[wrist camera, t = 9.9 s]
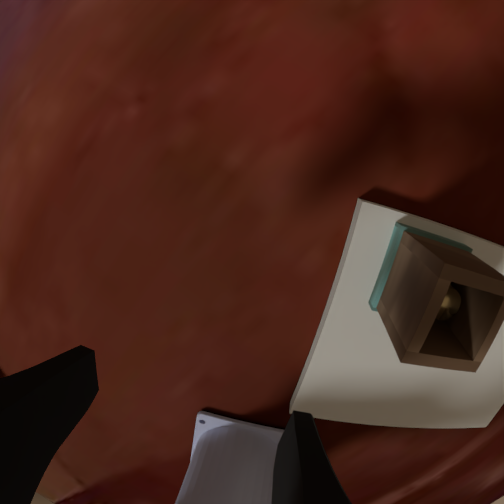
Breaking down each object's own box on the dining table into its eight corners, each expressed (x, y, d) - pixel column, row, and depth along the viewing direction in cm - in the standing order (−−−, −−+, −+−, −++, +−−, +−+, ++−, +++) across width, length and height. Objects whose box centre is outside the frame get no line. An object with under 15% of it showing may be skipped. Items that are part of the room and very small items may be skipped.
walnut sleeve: (435, 317, 17) (476, 376, 11) (368, 302, 17) (394, 366, 11) (464, 244, 15) (522, 283, 10) (395, 221, 15) (442, 256, 10)
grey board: (481, 418, 20) (485, 427, 19) (289, 402, 21) (289, 413, 20) (560, 270, 15) (569, 276, 14) (358, 198, 17) (362, 201, 15)
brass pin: (425, 289, 16) (452, 322, 13) (402, 283, 16) (426, 317, 13) (434, 264, 16) (465, 292, 12) (412, 257, 16) (439, 285, 12)
